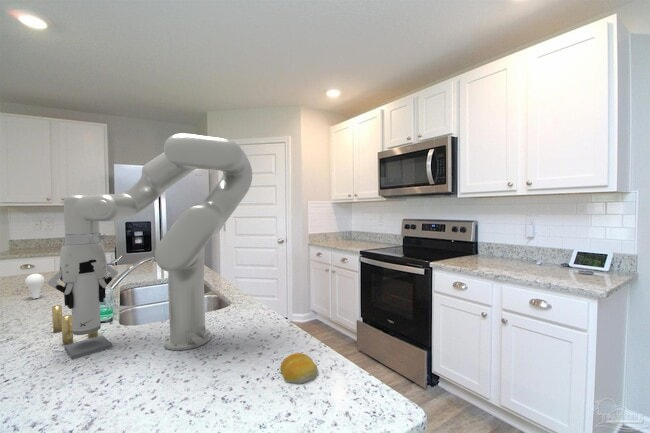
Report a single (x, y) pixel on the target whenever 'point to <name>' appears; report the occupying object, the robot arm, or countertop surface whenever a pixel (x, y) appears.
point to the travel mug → (86, 301)
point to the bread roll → (298, 368)
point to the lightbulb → (35, 284)
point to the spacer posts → (65, 325)
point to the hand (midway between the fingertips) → (85, 303)
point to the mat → (87, 347)
